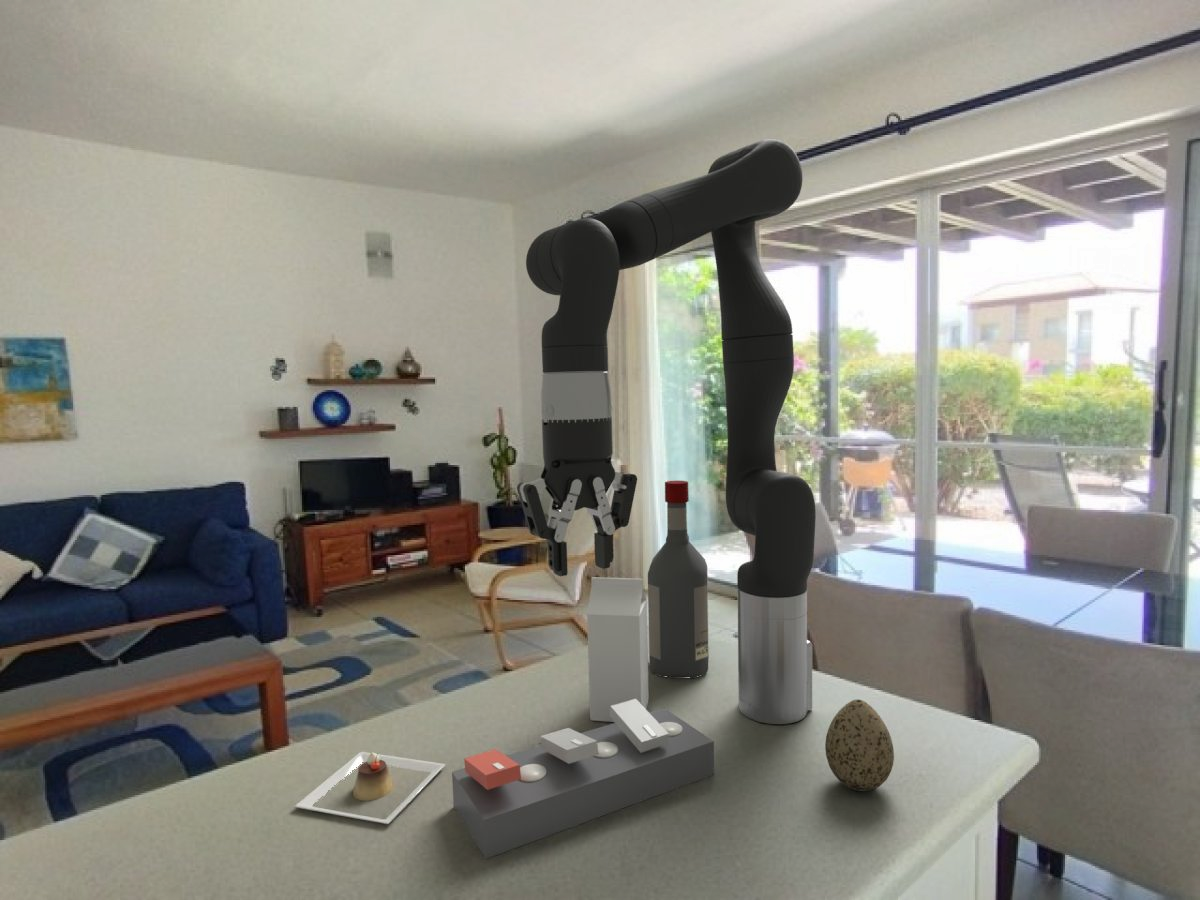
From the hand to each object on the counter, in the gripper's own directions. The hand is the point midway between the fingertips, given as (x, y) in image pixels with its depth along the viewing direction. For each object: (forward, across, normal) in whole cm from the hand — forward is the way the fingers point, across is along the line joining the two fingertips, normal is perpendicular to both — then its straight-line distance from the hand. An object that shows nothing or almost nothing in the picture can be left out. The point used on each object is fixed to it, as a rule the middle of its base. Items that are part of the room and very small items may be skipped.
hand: (581, 570), depth 77 cm
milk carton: (+26, -13, -14) cm, 32 cm away
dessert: (+26, +21, -13) cm, 36 cm away
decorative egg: (+26, -26, +16) cm, 40 cm away
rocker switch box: (+25, 0, 0) cm, 25 cm away
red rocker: (+20, +11, 0) cm, 23 cm away
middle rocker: (+20, +2, 0) cm, 20 cm away
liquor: (+26, -29, -22) cm, 45 cm away
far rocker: (+20, -7, 0) cm, 21 cm away
